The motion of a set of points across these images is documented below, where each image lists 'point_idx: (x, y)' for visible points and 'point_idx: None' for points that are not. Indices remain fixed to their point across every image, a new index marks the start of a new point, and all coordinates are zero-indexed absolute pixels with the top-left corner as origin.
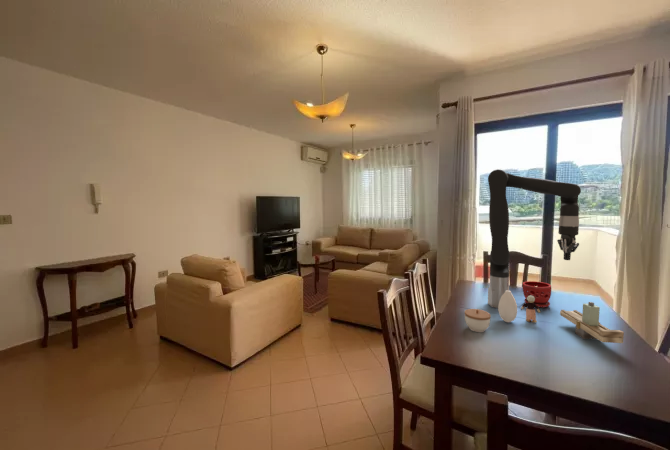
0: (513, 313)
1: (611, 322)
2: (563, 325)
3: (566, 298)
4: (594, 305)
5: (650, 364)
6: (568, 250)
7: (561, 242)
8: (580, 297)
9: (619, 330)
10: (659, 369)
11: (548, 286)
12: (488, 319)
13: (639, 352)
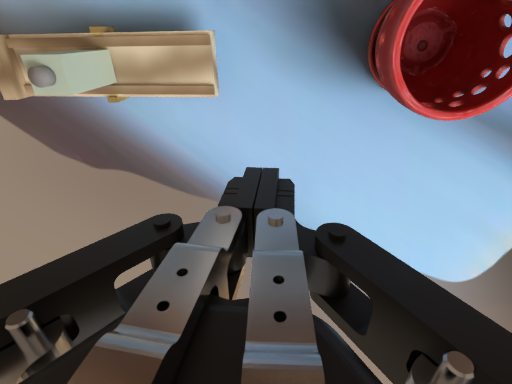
0: None
1: None
2: None
3: (461, 202)
4: (52, 89)
5: (22, 112)
6: (150, 227)
7: (421, 360)
8: (459, 248)
9: (13, 96)
10: (6, 113)
11: (403, 88)
12: None
13: (77, 132)
